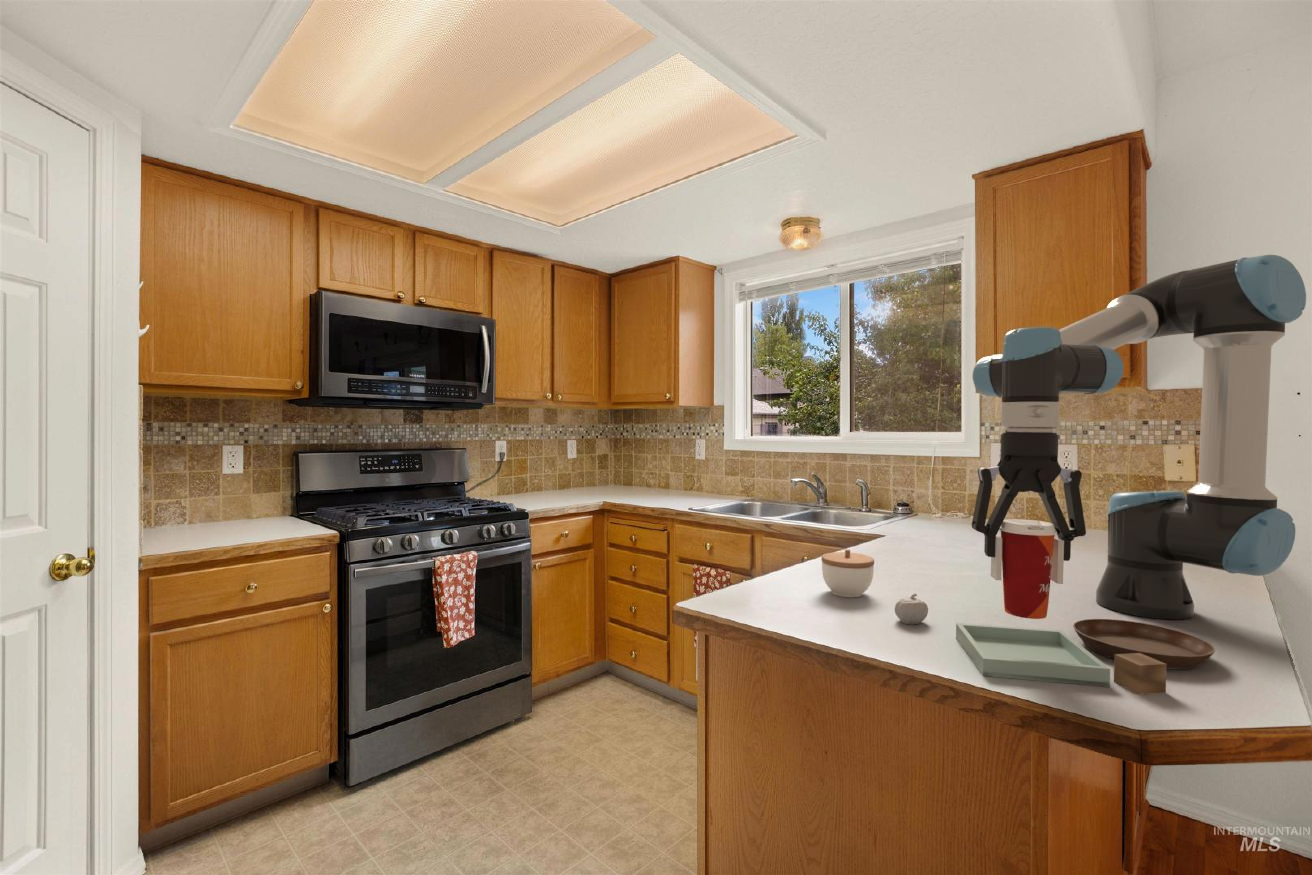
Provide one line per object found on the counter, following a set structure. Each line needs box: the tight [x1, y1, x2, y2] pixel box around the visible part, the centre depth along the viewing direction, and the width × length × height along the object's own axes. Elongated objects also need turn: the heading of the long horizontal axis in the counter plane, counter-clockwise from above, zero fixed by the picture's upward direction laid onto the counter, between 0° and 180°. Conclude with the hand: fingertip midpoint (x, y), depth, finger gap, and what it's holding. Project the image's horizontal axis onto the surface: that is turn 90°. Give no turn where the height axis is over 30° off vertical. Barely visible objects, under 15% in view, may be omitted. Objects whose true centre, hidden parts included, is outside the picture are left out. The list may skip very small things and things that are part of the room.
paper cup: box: [999, 518, 1057, 620], centre depth 95 cm, size 8×8×14 cm
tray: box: [955, 622, 1111, 688], centre depth 95 cm, size 16×16×2 cm
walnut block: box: [1113, 653, 1167, 695], centre depth 85 cm, size 4×4×4 cm
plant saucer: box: [1072, 618, 1216, 670], centre depth 98 cm, size 18×18×3 cm
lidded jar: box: [820, 548, 875, 598], centre depth 131 cm, size 11×11×9 cm
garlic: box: [894, 593, 929, 625], centre depth 113 cm, size 6×5×5 cm
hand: (1025, 579), depth 95 cm, fingers closed on paper cup, 8 cm apart
